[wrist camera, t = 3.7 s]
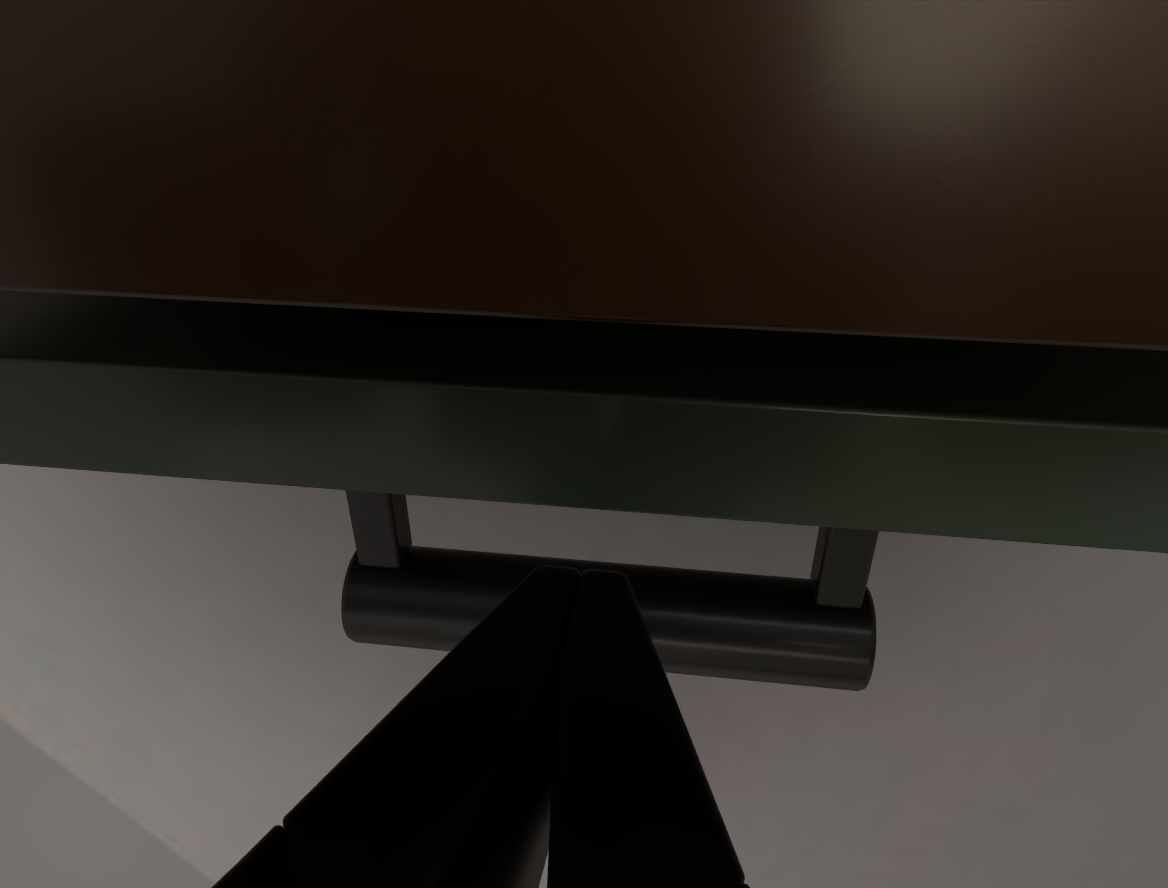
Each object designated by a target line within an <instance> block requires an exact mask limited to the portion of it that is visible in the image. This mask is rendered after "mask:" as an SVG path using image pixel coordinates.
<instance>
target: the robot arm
mask: <svg viewBox="0 0 1168 888" xmlns="http://www.w3.org/2000/svg"><path fill="white" fill-rule="evenodd" d="M283 827H284V828H283ZM283 827H282V826H280V825H276V826H274V827H273V828H272V829H271V830H270V831H269V832H268V833H267V834H266V835H265V836H264V837H263V838H262V839H261V840H260V841H259V842H258V843H257V844H256V845H255V846H254V847H253V848H252V849H251V850H250V851H249V852H248V853H247V854H246V855H245V856H244V857H243V858H242V859H241V860H240V861H239V862H238V863H237V864H236V865H235V866H234V867H233V868H232V869H231V870H229V871H228V872H227V873H226V874H225V875H224V876H223V877H222V878H221V879H220V880H219V881H218V882H217V883H216V884H215V885H214V886H213V887H212V888H539V884H540V880H541V876H542V873H543V869H544V865H545V861H546V857H547V853H548V850H549V857H548V880H547V888H750V887H749V886H748V885H747V884H744V880H745V876H744V873H743V870H742V867H741V865H740V862H739V860H738V857H737V855H736V852H735V850H734V847H733V845H732V842H731V839H730V837H729V834H728V832H727V829H726V827H725V824H724V822H723V819H722V817H721V814H720V811H719V809H718V806H717V804H716V801H715V799H714V796H713V794H712V791H711V789H710V786H709V783H708V781H707V778H706V776H705V773H704V771H703V768H702V766H701V763H700V761H699V758H698V755H697V753H696V750H695V748H694V745H693V743H692V740H691V738H690V735H689V733H688V730H687V727H686V725H685V722H684V720H683V717H682V715H681V712H680V710H679V707H678V705H677V702H676V699H675V697H674V694H673V692H672V689H671V687H670V684H669V682H668V679H667V677H666V674H665V671H664V669H663V666H662V664H661V661H660V659H659V656H658V654H657V651H656V649H655V646H654V643H653V641H652V638H651V636H650V633H649V631H648V628H647V626H646V623H645V621H644V618H643V615H642V613H641V610H640V608H639V605H638V603H637V600H636V598H635V595H634V593H633V590H632V588H631V585H630V582H629V580H628V578H627V576H626V575H625V574H624V573H622V572H619V571H608V570H596V569H587V570H585V571H583V573H582V574H580V572H579V570H577V569H576V568H573V567H561V566H549V565H540V566H538V567H536V568H534V569H533V570H532V571H531V572H530V573H529V574H528V575H527V576H526V577H525V578H524V579H523V580H522V581H521V582H520V583H519V584H518V585H517V586H516V587H515V588H514V589H513V590H512V591H511V592H510V593H509V594H508V595H507V596H506V597H505V598H504V599H503V600H502V601H501V602H500V603H499V604H498V605H497V606H496V607H495V608H494V609H493V610H492V611H491V612H490V613H489V614H488V615H487V616H486V617H485V618H484V619H483V620H482V621H481V622H480V623H479V624H478V625H477V626H476V627H475V628H474V629H473V630H472V631H471V632H470V633H469V634H468V635H467V636H466V637H465V638H464V639H463V640H462V641H461V642H460V643H459V644H458V645H457V646H456V647H455V648H454V649H453V650H452V651H451V652H450V653H449V654H448V655H447V656H446V657H445V658H444V659H443V660H442V661H441V662H440V663H438V664H437V665H436V666H435V667H434V668H433V669H432V670H431V671H430V672H429V673H428V674H427V675H426V676H425V677H424V678H423V679H422V680H421V681H420V682H419V683H418V684H417V685H416V686H415V687H414V688H413V689H412V690H411V691H410V692H409V693H408V694H407V695H406V696H405V697H404V698H403V699H402V700H401V701H400V702H399V703H398V704H397V705H396V706H395V707H394V708H393V709H392V710H391V711H390V712H389V713H388V714H387V715H386V716H385V717H384V718H383V719H382V720H381V721H380V722H379V723H378V724H377V725H376V726H375V727H374V728H373V729H372V730H371V731H370V732H369V733H368V734H367V735H366V736H365V737H364V738H363V739H362V740H361V741H360V742H359V743H358V744H357V745H356V746H355V747H354V748H353V749H352V750H351V751H350V752H349V753H348V754H347V755H346V756H345V757H344V758H343V759H342V760H341V761H340V762H339V763H338V764H337V765H336V766H335V767H334V768H333V769H332V770H331V771H330V772H329V773H328V774H327V775H326V776H325V777H324V778H323V779H322V780H321V781H320V782H319V783H318V784H317V785H316V786H315V787H314V788H313V789H312V790H311V791H310V792H309V793H308V794H307V795H306V796H305V797H304V798H303V799H302V800H301V801H300V802H299V803H298V804H297V805H296V806H295V807H294V808H293V809H292V810H291V811H290V812H289V813H288V814H287V815H286V816H285V817H284V819H283Z"/></svg>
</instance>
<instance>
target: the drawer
mask: <svg viewBox="0 0 1168 888" xmlns="http://www.w3.org/2000/svg"><path fill="white" fill-rule="evenodd" d="M0 464H13V465H26V466H39V467H52V468H65V469H78V470H91V471H104V472H117V473H130V474H143V475H156V476H169V477H182V478H196V479H209V480H222V481H235V482H248V483H261V484H274V485H287V486H300V487H313V488H326V489H339V490H346V494H347V500H348V505H349V511H350V516H351V522H352V527H353V533H354V538H355V544H356V549H357V550H356V551H355V553H354V555H353V557H352V559H351V561H350V563H349V566H348V569H347V572H346V576H345V580H344V585H343V591H342V604H341V611H342V622H343V627H344V630H345V633H346V635H347V636H348V637H349V638H350V639H351V640H353V641H355V642H359V643H370V644H380V645H390V646H401V647H411V648H421V649H431V650H442V651H452V650H453V649H454V648H455V647H456V646H457V645H458V644H459V643H460V642H461V641H462V640H463V639H464V638H465V637H466V636H467V635H468V634H469V633H470V632H471V631H472V630H473V629H474V628H475V627H476V626H477V625H478V624H479V623H480V622H481V621H482V620H483V619H484V618H485V617H486V616H487V615H488V614H489V613H490V612H491V611H492V610H493V609H494V608H495V607H496V606H497V605H498V604H499V603H500V602H501V601H502V600H503V599H504V598H505V597H506V596H507V595H508V594H509V593H510V592H511V591H512V590H513V589H514V588H515V587H516V586H517V585H518V584H519V583H520V582H521V581H522V580H523V579H524V578H525V577H526V576H527V575H528V574H529V573H530V572H531V571H532V570H533V569H534V568H536V567H538V566H540V565H549V566H561V567H573V568H576V569H577V570H579V572H580V574H582V573H583V571H585V570H587V569H596V570H608V571H619V572H622V573H624V574H625V575H626V576H627V578H628V580H629V582H630V585H631V588H632V590H633V593H634V595H635V598H636V600H637V603H638V605H639V608H640V610H641V613H642V615H643V618H644V621H645V623H646V626H647V628H648V631H649V633H650V636H651V638H652V641H653V643H654V646H655V649H656V651H657V654H658V656H659V659H660V661H661V664H662V666H663V669H664V671H665V672H668V673H678V674H688V675H698V676H709V677H719V678H729V679H740V680H750V681H760V682H770V683H781V684H791V685H801V686H811V687H822V688H832V689H842V690H853V691H860V690H863V689H865V688H866V687H867V685H868V683H869V680H870V678H871V675H872V671H873V667H874V661H875V652H876V616H875V608H874V603H873V599H872V596H871V593H870V590H869V589H868V587H867V586H866V585H867V581H868V577H869V572H870V568H871V564H872V559H873V555H874V551H875V546H876V542H877V537H878V533H879V531H887V532H900V533H913V534H926V535H939V536H952V537H965V538H978V539H991V540H1004V541H1017V542H1031V543H1044V544H1057V545H1070V546H1083V547H1096V548H1109V549H1122V550H1135V551H1148V552H1161V553H1168V351H1157V350H1138V349H1119V348H1099V347H1080V346H1061V345H1041V344H1022V343H1003V342H984V341H964V340H945V339H926V338H906V337H887V336H868V335H848V334H829V333H810V332H790V331H771V330H752V329H733V328H713V327H694V326H675V325H655V324H636V323H617V322H597V321H578V320H559V319H539V318H520V317H501V316H482V315H462V314H443V313H424V312H404V311H385V310H366V309H346V308H327V307H308V306H288V305H269V304H250V303H231V302H211V301H192V300H173V299H153V298H134V297H115V296H95V295H76V294H57V293H37V292H18V291H0ZM405 495H417V496H430V497H443V498H456V499H470V500H483V501H496V502H509V503H522V504H535V505H548V506H561V507H574V508H587V509H600V510H613V511H626V512H639V513H652V514H665V515H678V516H691V517H704V518H717V519H730V520H743V521H757V522H770V523H783V524H796V525H809V526H819V531H818V537H817V542H816V548H815V553H814V559H813V564H812V570H811V575H810V577H811V579H802V578H790V577H778V576H766V575H754V574H742V573H731V572H719V571H707V570H695V569H683V568H671V567H659V566H647V565H635V564H623V563H611V562H599V561H587V560H575V559H563V558H551V557H539V556H527V555H515V554H503V553H491V552H479V551H467V550H455V549H443V548H431V547H419V546H411V544H412V539H411V532H410V525H409V517H408V510H407V503H406V496H405Z"/></svg>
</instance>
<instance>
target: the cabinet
mask: <svg viewBox="0 0 1168 888" xmlns="http://www.w3.org/2000/svg"><path fill="white" fill-rule="evenodd" d="M0 291H18V292H37V293H57V294H76V295H95V296H115V297H134V298H153V299H173V300H192V301H211V302H231V303H250V304H269V305H288V306H308V307H327V308H346V309H366V310H385V311H404V312H424V313H443V314H462V315H482V316H501V317H520V318H539V319H559V320H578V321H597V322H617V323H636V324H655V325H675V326H694V327H713V328H733V329H752V330H771V331H790V332H810V333H829V334H848V335H868V336H887V337H906V338H926V339H945V340H964V341H984V342H1003V343H1022V344H1041V345H1061V346H1080V347H1099V348H1119V349H1138V350H1157V351H1168V0H0Z"/></svg>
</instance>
